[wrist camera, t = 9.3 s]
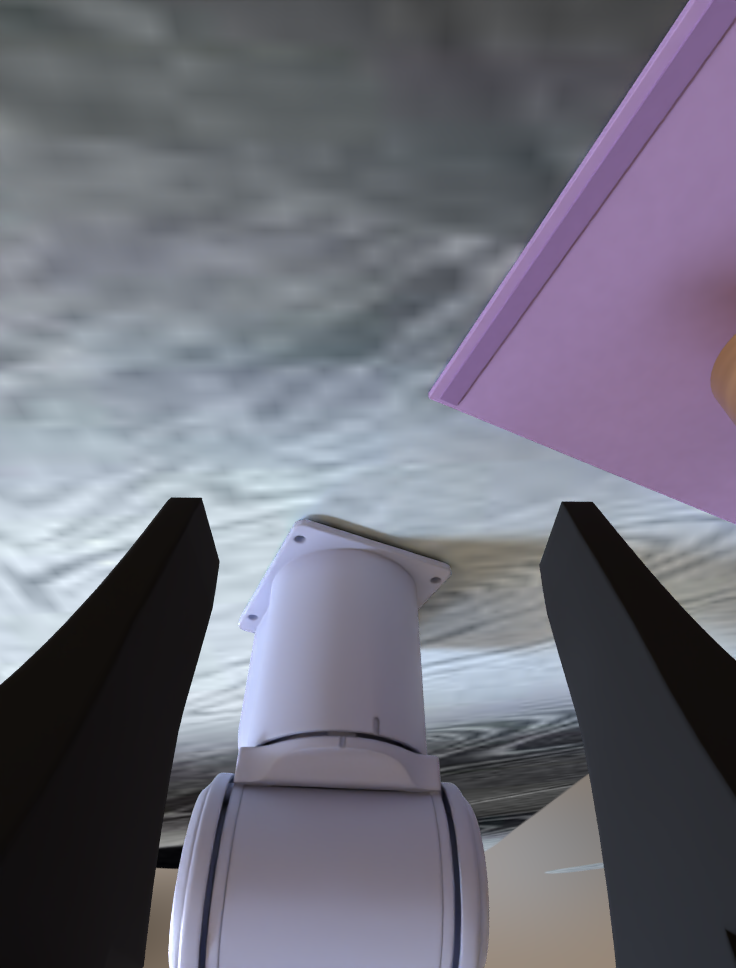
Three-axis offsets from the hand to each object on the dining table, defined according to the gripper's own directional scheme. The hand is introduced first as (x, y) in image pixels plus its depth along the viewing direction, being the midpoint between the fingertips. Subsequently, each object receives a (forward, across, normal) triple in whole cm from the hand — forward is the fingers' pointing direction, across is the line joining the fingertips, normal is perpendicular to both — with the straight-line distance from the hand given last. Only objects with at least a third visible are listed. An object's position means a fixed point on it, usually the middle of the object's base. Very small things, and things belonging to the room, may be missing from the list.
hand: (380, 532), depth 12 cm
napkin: (+9, -14, +1) cm, 17 cm away
